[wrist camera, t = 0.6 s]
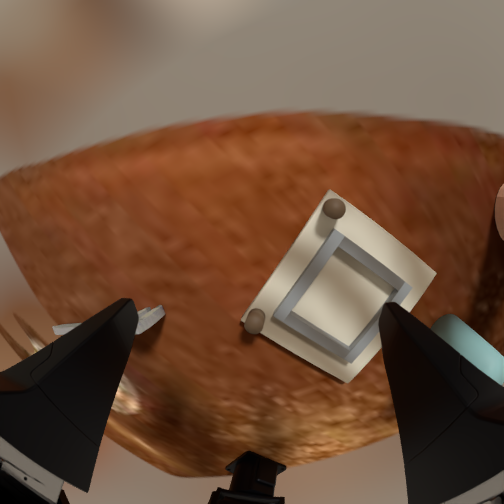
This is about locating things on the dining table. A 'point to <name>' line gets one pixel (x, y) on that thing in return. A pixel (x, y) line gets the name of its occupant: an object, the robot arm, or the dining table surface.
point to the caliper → (145, 322)
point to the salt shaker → (500, 212)
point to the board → (337, 289)
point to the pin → (470, 346)
